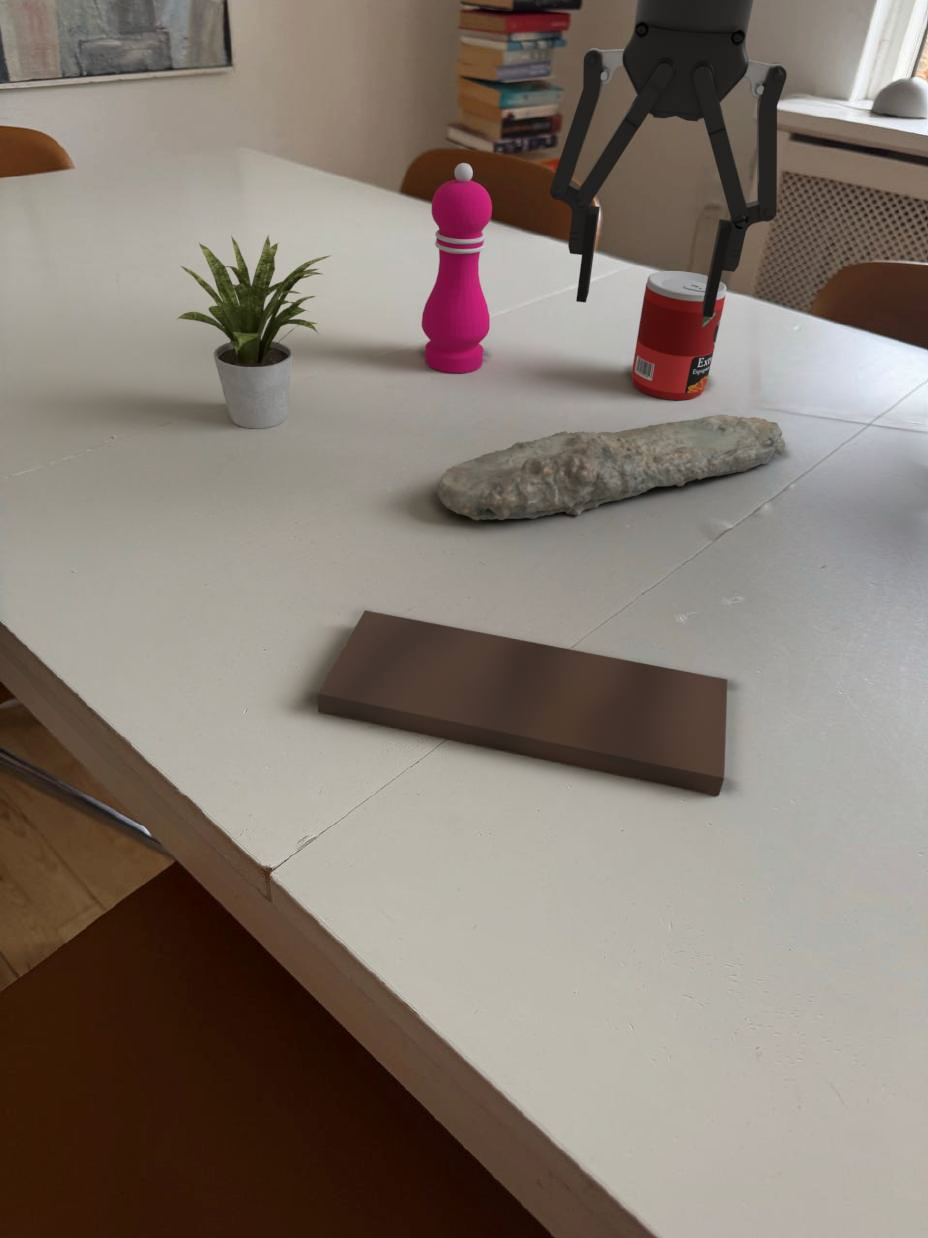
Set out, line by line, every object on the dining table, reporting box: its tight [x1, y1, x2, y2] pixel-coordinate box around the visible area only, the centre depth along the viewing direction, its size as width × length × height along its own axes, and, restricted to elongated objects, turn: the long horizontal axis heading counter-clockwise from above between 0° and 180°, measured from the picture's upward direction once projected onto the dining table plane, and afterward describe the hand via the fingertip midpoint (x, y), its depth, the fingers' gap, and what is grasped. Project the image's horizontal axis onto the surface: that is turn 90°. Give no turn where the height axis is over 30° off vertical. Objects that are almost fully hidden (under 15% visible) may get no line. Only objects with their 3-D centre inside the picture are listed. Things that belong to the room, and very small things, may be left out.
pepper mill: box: [421, 162, 493, 374], centre depth 99 cm, size 7×7×20 cm
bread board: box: [316, 609, 728, 797], centre depth 60 cm, size 24×9×2 cm, turn 76°
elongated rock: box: [437, 414, 786, 521], centre depth 84 cm, size 35×5×10 cm
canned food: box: [631, 270, 727, 401], centre depth 100 cm, size 8×8×11 cm
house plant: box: [177, 234, 333, 430], centre depth 85 cm, size 14×14×16 cm
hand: (644, 303), depth 76 cm, fingers open, 9 cm apart
